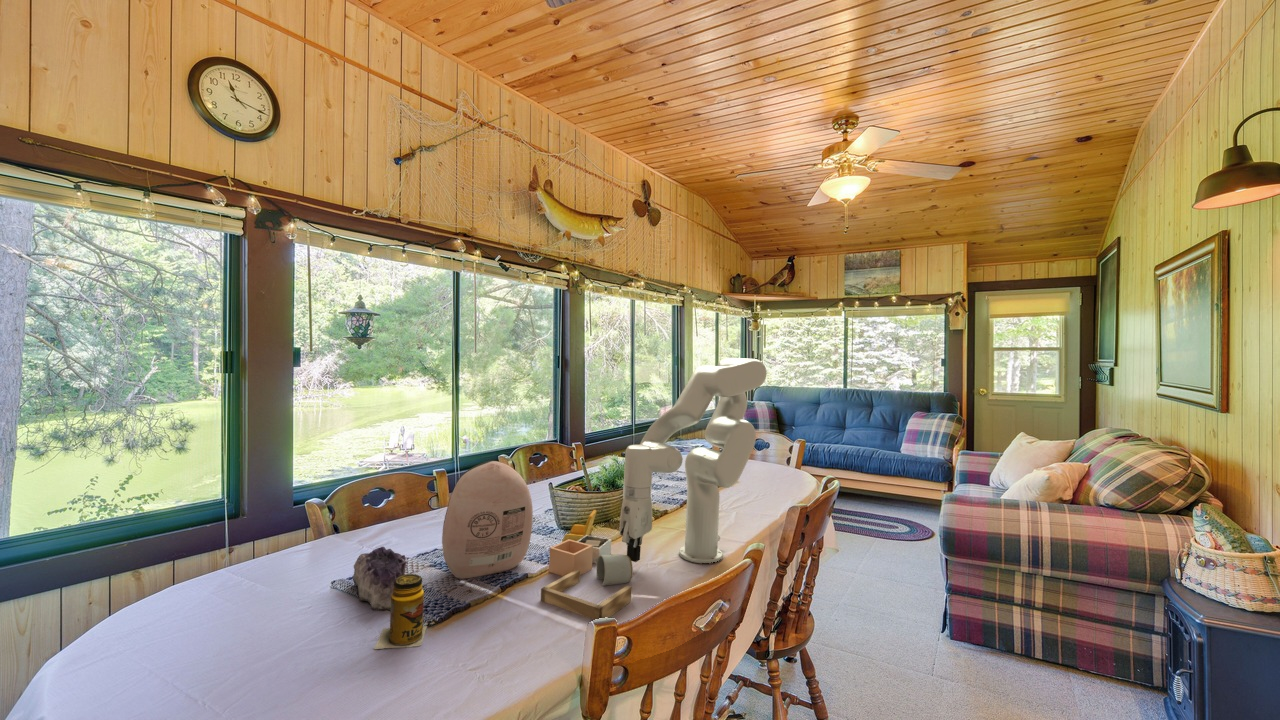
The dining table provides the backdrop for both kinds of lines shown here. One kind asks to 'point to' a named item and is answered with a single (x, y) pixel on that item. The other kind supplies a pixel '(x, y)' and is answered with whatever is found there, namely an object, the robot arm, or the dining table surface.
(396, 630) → the condiment
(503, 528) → the packaged food
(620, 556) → the ceramic mug
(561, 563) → the terracotta planter
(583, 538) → the grey tin
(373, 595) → the geode
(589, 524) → the yellow toy chair
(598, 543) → the walnut cube
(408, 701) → the dining table surface
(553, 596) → the frame
